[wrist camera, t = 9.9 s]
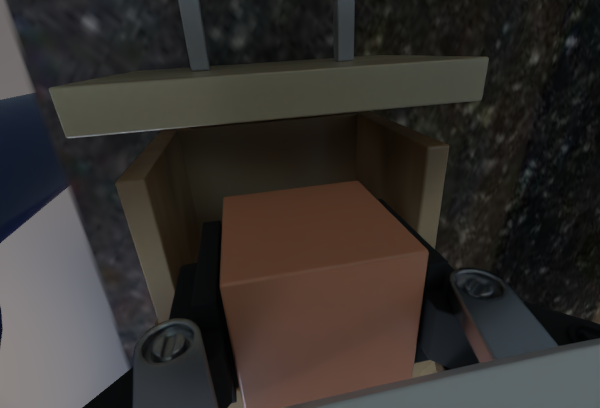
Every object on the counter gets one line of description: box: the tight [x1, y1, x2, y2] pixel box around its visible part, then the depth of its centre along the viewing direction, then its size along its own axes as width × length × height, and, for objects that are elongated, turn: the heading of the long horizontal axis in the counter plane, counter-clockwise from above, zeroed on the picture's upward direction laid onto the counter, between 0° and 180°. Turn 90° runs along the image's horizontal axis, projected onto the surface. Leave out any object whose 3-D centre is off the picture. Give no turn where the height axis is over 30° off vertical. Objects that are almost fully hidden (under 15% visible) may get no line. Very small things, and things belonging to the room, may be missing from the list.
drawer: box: [49, 0, 489, 323], centre depth 14 cm, size 18×11×8 cm, turn 3°
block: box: [220, 181, 429, 408], centre depth 10 cm, size 4×4×4 cm
